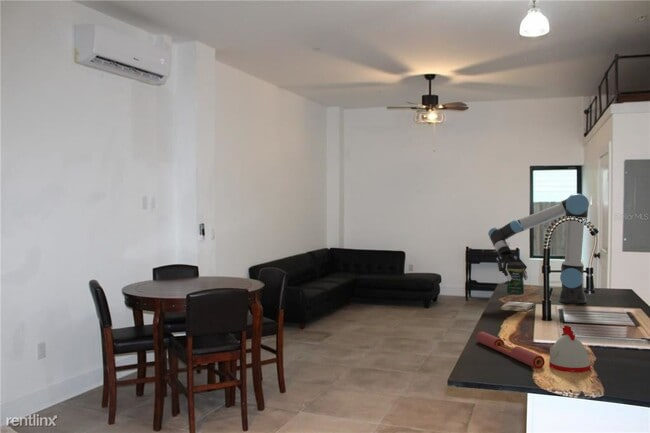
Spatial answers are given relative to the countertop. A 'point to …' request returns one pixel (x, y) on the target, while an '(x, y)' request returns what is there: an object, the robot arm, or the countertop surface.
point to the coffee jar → (515, 278)
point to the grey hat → (569, 353)
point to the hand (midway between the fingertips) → (518, 279)
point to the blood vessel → (511, 350)
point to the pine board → (517, 306)
